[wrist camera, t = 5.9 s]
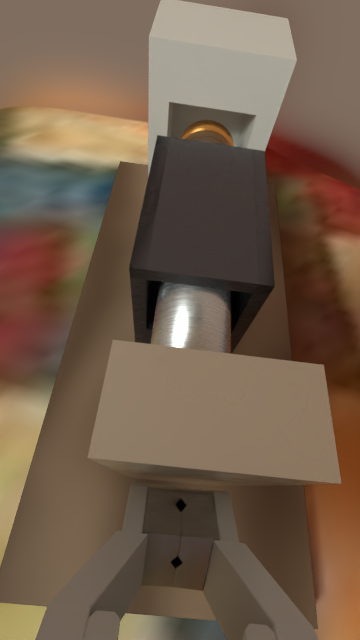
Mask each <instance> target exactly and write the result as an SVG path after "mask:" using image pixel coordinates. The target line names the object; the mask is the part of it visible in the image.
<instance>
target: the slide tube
mask: <svg viewBox="0 0 360 640" xmlns="http://www.w3.org/2000/svg"><path fill="white" fill-rule="evenodd" d="M180 139H187V140H194V141H201V142H207V143H214V144H221V145H228V146H234V142H233V138H232V135H231V134H230V132H229V131H228V129H227V128H226V127H225V126H223V125H222V124H220V123H218V122H216V121H212V120H201V121H197V122H195V123H193V124H191V125H190V126H188V127H187V128H186V129H185V130H184V132H183V133H182V135H181V137H180ZM87 458H89V459H91V460H93V461H95V462H97V463H99V464H101V465H103V466H105V467H107V468H109V469H111V470H113V471H115V472H117V473H119V474H121V475H123V476H125V477H131V478H141V479H150V480H160V481H170V482H180V483H190V484H200V485H209V486H256V485H312V484H342V483H341V477H340V470H339V463H338V456H337V450H336V443H335V436H334V430H333V423H332V416H331V410H330V403H329V396H328V390H327V383H326V376H325V369H324V365H321V364H312V363H304V362H296V361H287V360H279V359H271V358H262V357H254V356H246V355H237V354H231V290H223V289H215V288H207V287H200V286H192V285H184V284H176V283H168V282H161V281H160V283H159V290H158V297H157V303H156V310H155V317H154V324H153V330H152V337H151V344H145V343H137V342H129V341H120V340H113V341H112V346H111V351H110V355H109V360H108V364H107V369H106V374H105V378H104V383H103V388H102V392H101V397H100V402H99V406H98V411H97V416H96V420H95V425H94V430H93V434H92V439H91V443H90V448H89V453H88V457H87Z"/></svg>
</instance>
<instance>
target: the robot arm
mask: <svg viewBox="0 0 360 640" xmlns="http://www.w3.org/2000/svg"><path fill="white" fill-rule="evenodd" d="M147 490H148V491H147ZM146 498H147V499H146ZM172 584H173V587H176V588H184V589H192V590H200V591H203V594H204V596H205V598H206V600H207V602H208V603H209V605H210V607H211V609H212V611H213V613H214V615H215V617H216V619H217V621H218V623H219V625H220V627H221V629H222V631H223V633H224V635H225V637H226V639H227V640H318V639H317V636H316V633H315V630H314V628H313V626H312V625H311V624H310V623H309V621H308V620H307V619H306V618H305V617H304V615H303V614H302V613H301V612H300V610H299V609H298V608H297V607H296V606H295V604H294V603H293V602H292V601H291V599H290V598H289V597H288V596H287V595H286V593H285V592H284V591H283V590H282V588H281V587H280V586H279V585H278V583H277V582H276V581H275V580H274V579H273V577H272V576H271V575H270V574H269V572H268V571H267V570H266V569H265V568H264V566H263V565H262V564H261V563H260V561H259V560H258V559H257V558H256V556H255V555H254V554H253V553H252V552H251V550H250V549H249V548H248V547H247V545H246V544H245V543H240V542H239V537H238V532H237V527H236V522H235V517H234V512H233V507H232V502H231V497H230V494H229V492H227V491H216V490H212V491H211V490H204V489H193V488H183V487H172V486H165V485H157V484H146V483H139V482H132V483H131V486H130V491H129V496H128V501H127V507H126V512H125V517H124V522H123V528H122V531H116V532H115V533H114V534H113V535H112V536H111V537H110V538H109V540H108V541H107V542H106V543H105V544H104V545H103V546H102V547H101V548H100V549H99V550H98V551H97V552H96V553H95V554H94V556H93V557H92V558H91V559H90V560H89V561H88V562H87V563H86V564H85V565H84V566H83V567H82V568H81V569H80V571H79V572H78V573H77V574H76V575H75V576H74V577H73V578H72V579H71V580H70V581H69V582H68V583H67V584H66V585H65V587H64V588H63V589H62V590H61V591H60V592H59V593H58V594H57V595H56V596H55V597H54V598H53V599H52V600H51V601H50V603H49V604H48V606H47V609H46V612H45V615H44V617H43V620H42V623H41V626H40V629H39V631H38V634H37V637H36V640H118V634H119V626H120V621H121V619H122V617H123V616H124V614H125V613H126V611H127V609H128V608H129V606H130V604H131V603H132V601H133V600H134V598H135V596H136V595H137V593H138V592H139V590H140V588H141V585H145V586H163V587H172Z"/></svg>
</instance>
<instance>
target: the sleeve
mask: <svg viewBox="0 0 360 640" xmlns="http://www.w3.org/2000/svg"><path fill="white" fill-rule="evenodd" d="M129 272H130V285H131V297H132V310H133V322H134V334H135V342H137V343H145V344H151V337H152V330H153V324H154V317H155V310H156V303H157V297H158V290H159V283H160V281H161V282H168V283H176V284H184V285H192V286H200V287H207V288H215V289H223V290H231V354H232V353H233V351H234V350H235V348H236V347H237V345H238V343H239V342H240V340H241V339H242V337H243V336H244V334H245V332H246V331H247V329H248V328H249V326H250V325H251V323H252V321H253V320H254V318H255V317H256V315H257V314H258V312H259V310H260V309H261V307H262V306H263V304H264V303H265V301H266V299H267V298H268V296H269V295H270V293H271V292H272V290H273V288H274V287H275V280H274V267H273V254H272V242H271V229H270V216H269V203H268V190H267V177H266V164H265V151H262V150H255V149H248V148H241V147H235V146H228V145H221V144H214V143H207V142H201V141H194V140H187V139H180V138H174V137H167V136H160V135H157V139H156V144H155V149H154V153H153V158H152V163H151V167H150V172H149V177H148V181H147V186H146V191H145V195H144V200H143V205H142V209H141V214H140V219H139V223H138V228H137V233H136V237H135V242H134V247H133V251H132V256H131V261H130V265H129Z"/></svg>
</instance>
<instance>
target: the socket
mask: <svg viewBox="0 0 360 640" xmlns="http://www.w3.org/2000/svg"><path fill="white" fill-rule="evenodd" d="M296 61H297V58H296V54H295V49H294V44H293V40H292V35H291V30H290V26H289V21H288V19H287V18H282V17H276V16H270V15H264V14H258V13H252V12H245V11H240V10H234V9H228V8H222V7H216V6H210V5H203V4H198V3H192V2H186V1H180V0H161V1H160V4H159V7H158V10H157V13H156V16H155V20H154V22H153V26H152V28H151V31H150V34H149V125H148V177H149V172H150V167H151V163H152V158H153V153H154V149H155V144H156V139H157V135H160V136H167V137H174V138H180V137H181V135H182V133H183V132H184V130H185V129H186V128H187V127H188V126H190V125H191V124H193V123H195V122H197V121H201V120H212V121H216V122H218V123H220V124H222V125H223V126H225V127H226V128H227V129H228V131H229V132H230V134H231V135H232V138H233V142H234V146H235V147H241V148H248V149H255V150H262V151H265V149H266V147H267V144H268V141H269V138H270V135H271V132H272V130H273V127H274V124H275V121H276V118H277V115H278V112H279V110H280V107H281V104H282V101H283V98H284V95H285V92H286V89H287V87H288V84H289V81H290V78H291V75H292V73H293V70H294V67H295V64H296Z"/></svg>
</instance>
